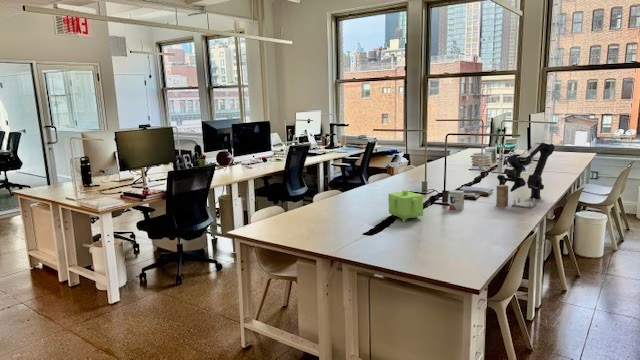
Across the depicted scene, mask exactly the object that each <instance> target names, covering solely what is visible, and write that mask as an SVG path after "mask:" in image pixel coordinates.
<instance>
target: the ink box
mask: <svg viewBox="0 0 640 360" xmlns="http://www.w3.org/2000/svg"><path fill="white" fill-rule="evenodd" d="M448 199H449V203H448V204H449V209H448V210H455V211H463V210H464V209H465V191H464V190H458V189H456V190H455V189H452V190H450V191H449V198H448Z"/></svg>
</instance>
